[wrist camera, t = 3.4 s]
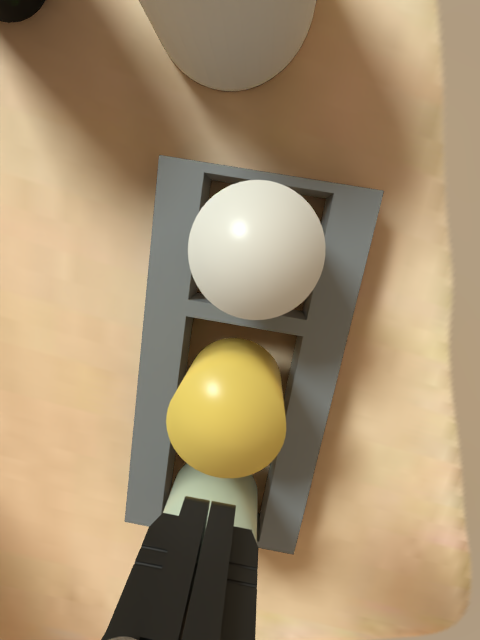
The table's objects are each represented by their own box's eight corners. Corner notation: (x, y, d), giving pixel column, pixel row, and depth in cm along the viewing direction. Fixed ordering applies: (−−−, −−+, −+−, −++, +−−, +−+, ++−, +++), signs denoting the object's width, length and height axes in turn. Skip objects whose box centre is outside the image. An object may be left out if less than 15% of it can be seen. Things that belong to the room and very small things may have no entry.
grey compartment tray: (290, 525, 26) (293, 554, 23) (137, 495, 26) (124, 521, 24) (369, 196, 20) (384, 190, 18) (171, 164, 20) (159, 154, 18)
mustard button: (272, 430, 21) (274, 488, 16) (184, 414, 21) (160, 466, 16) (289, 346, 20) (297, 381, 15) (195, 330, 20) (173, 359, 15)
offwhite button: (298, 307, 19) (309, 330, 14) (201, 290, 19) (180, 307, 15) (319, 204, 18) (339, 192, 13) (215, 187, 18) (196, 169, 13)
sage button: (250, 534, 23) (246, 612, 18) (169, 518, 23) (144, 592, 18) (264, 463, 22) (264, 528, 17) (179, 447, 22) (154, 507, 17)
